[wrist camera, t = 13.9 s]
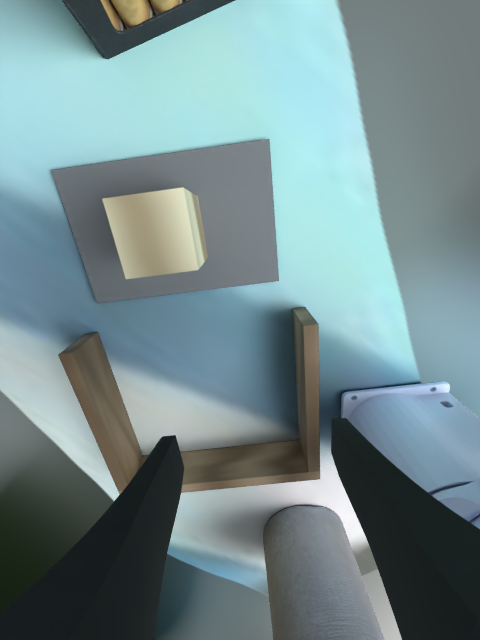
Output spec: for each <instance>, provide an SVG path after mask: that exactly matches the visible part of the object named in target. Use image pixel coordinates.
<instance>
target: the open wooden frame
mask: <svg viewBox="0 0 480 640" xmlns="http://www.w3.org/2000/svg"><path fill="white" fill-rule="evenodd" d="M293 325H294V345H295V365H296V385H297V405H298V426H299V440H294V441H285V442H275V443H265V444H255V445H246V446H236V447H226V448H217V449H207V450H197V451H187V452H180V453H181V457H182V460H183V464H184V474H183V483H182V490H181V493H183V492H193V491H204V490H214V489H224V488H234V487H245V486H255V485H265V484H275V483H286V482H296V481H306V480H317V479H320V432H319V336H318V323H317V322H316V320H315V319H314V318H313V317H312V315H311V314H310V313H309V312H308V310H307V309H306V308H305V307H304V308H295V309H293ZM58 356H59V358H60V360H61V362H62V365H63V367H64V369H65V371H66V374H67V376H68V378H69V380H70V383H71V385H72V387H73V389H74V392H75V394H76V396H77V399H78V401H79V403H80V405H81V408H82V410H83V412H84V414H85V417H86V419H87V421H88V423H89V426H90V428H91V430H92V432H93V435H94V437H95V439H96V442H97V444H98V446H99V448H100V451H101V453H102V455H103V457H104V460H105V462H106V464H107V466H108V469H109V471H110V473H111V475H112V478H113V480H114V482H115V485H116V487H117V489H118V491H119V494H121V493H122V491H123V490H124V489H125V488H126V486H127V485H128V484H129V482H130V481H131V480H132V478H133V477H134V476H135V474H136V473H137V472H138V470H139V469H140V468H141V466H142V465H143V463H144V462H145V461H146V459H147V458H148V456H143V455H142V453H141V450H140V447H139V444H138V442H137V439H136V436H135V433H134V431H133V428H132V425H131V422H130V420H129V417H128V414H127V411H126V408H125V406H124V403H123V400H122V397H121V395H120V392H119V389H118V386H117V384H116V381H115V378H114V375H113V373H112V370H111V367H110V364H109V362H108V359H107V356H106V353H105V351H104V348H103V345H102V342H101V340H100V337H99V334H98V332H96V333H88V334H85V335H84V336H82V337H81V338H80V339H78V340H77V341H76V342H74V343H73V344H72V345H70V346H69V347H68V348H66V349H65V350H64V351H63V352H61V353H60V354H59V355H58Z"/></svg>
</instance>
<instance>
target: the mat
mask: <svg viewBox="0 0 480 640" xmlns="http://www.w3.org/2000/svg"><path fill="white" fill-rule="evenodd" d="M51 172H52V175H53V178H54V181H55V183H56V186H57V189H58V192H59V195H60V198H61V201H62V204H63V206H64V209H65V212H66V215H67V218H68V221H69V224H70V227H71V229H72V232H73V235H74V238H75V241H76V244H77V247H78V250H79V252H80V255H81V258H82V261H83V264H84V267H85V270H86V273H87V276H88V278H89V281H90V284H91V287H92V290H93V293H94V296H95V299H96V301H97V303H105V302H113V301H121V300H129V299H137V298H145V297H153V296H161V295H169V294H178V293H186V292H194V291H202V290H210V289H218V288H226V287H234V286H242V285H250V284H258V283H266V282H274V281H279V275H278V260H277V245H276V230H275V216H274V201H273V186H272V172H271V157H270V142H269V139H265V140H258V141H251V142H244V143H237V144H230V145H223V146H216V147H209V148H202V149H195V150H188V151H181V152H174V153H167V154H160V155H153V156H146V157H139V158H132V159H125V160H118V161H111V162H104V163H97V164H90V165H83V166H76V167H69V168H62V169H55V170H51ZM182 187H183V188H185V189H187V190H188V191H190V192H192V193H193V194H195V195H197V196H198V200H199V206H200V212H201V218H202V224H203V230H204V236H205V242H206V248H207V254H208V258H207V259H206V261H205V262H204V263H203V265H202V266H201V267H200V269H199V270H195V271H187V272H179V273H171V274H163V275H156V276H148V277H140V278H132V279H126V278H125V275H124V271H123V268H122V264H121V261H120V258H119V254H118V251H117V247H116V244H115V241H114V237H113V234H112V230H111V227H110V224H109V220H108V217H107V213H106V210H105V207H104V203H103V200H102V199H103V198H111V197H118V196H125V195H132V194H139V193H146V192H154V191H161V190H168V189H175V188H182Z"/></svg>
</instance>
